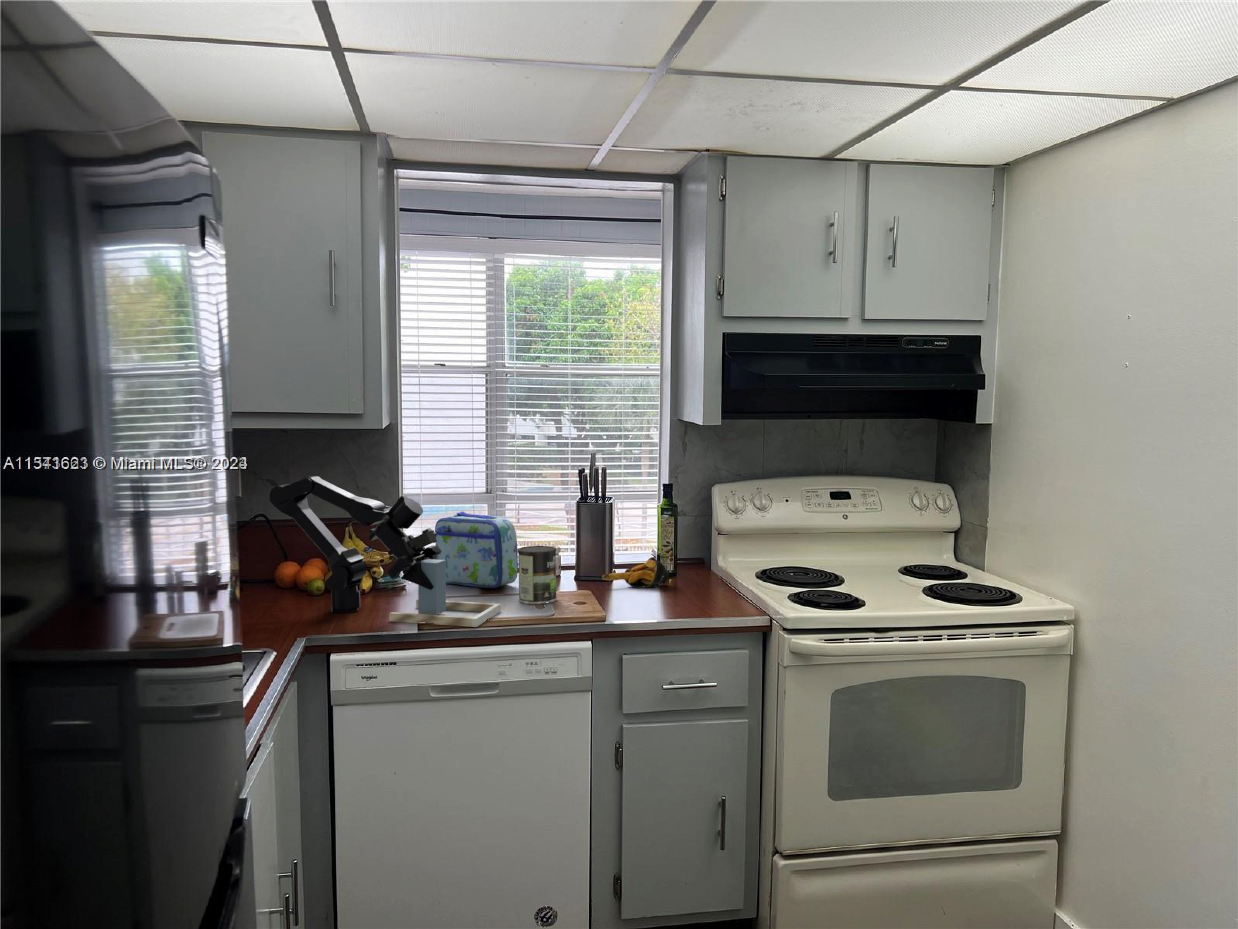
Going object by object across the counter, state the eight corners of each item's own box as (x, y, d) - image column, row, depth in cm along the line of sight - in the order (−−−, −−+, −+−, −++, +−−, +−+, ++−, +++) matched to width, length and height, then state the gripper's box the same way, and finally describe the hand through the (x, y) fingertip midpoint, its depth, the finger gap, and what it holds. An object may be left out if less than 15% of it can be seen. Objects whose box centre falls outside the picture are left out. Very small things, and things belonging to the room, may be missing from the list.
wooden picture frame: (389, 621, 214) (389, 613, 214) (418, 606, 229) (418, 599, 229) (476, 627, 209) (476, 618, 208) (500, 611, 223) (500, 603, 223)
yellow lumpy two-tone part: (677, 572, 248) (621, 557, 241) (660, 603, 251) (605, 589, 244) (668, 555, 256) (614, 540, 249) (652, 585, 259) (598, 571, 252)
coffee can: (561, 596, 240) (560, 545, 238) (550, 605, 230) (550, 552, 228) (525, 595, 242) (524, 544, 241) (513, 603, 232) (512, 551, 230)
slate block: (418, 613, 218) (418, 562, 217) (428, 609, 223) (427, 559, 222) (436, 615, 217) (436, 563, 216) (445, 610, 221) (445, 560, 221)
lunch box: (430, 583, 258) (428, 512, 257) (456, 576, 267) (454, 508, 265) (496, 593, 244) (495, 519, 242) (521, 586, 253) (520, 514, 251)
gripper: (397, 525, 210) (440, 572, 208) (433, 514, 228) (473, 558, 226) (369, 555, 212) (411, 603, 211) (406, 543, 230) (445, 586, 229)
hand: (437, 586), depth 219 cm, fingers closed on slate block, 5 cm apart
